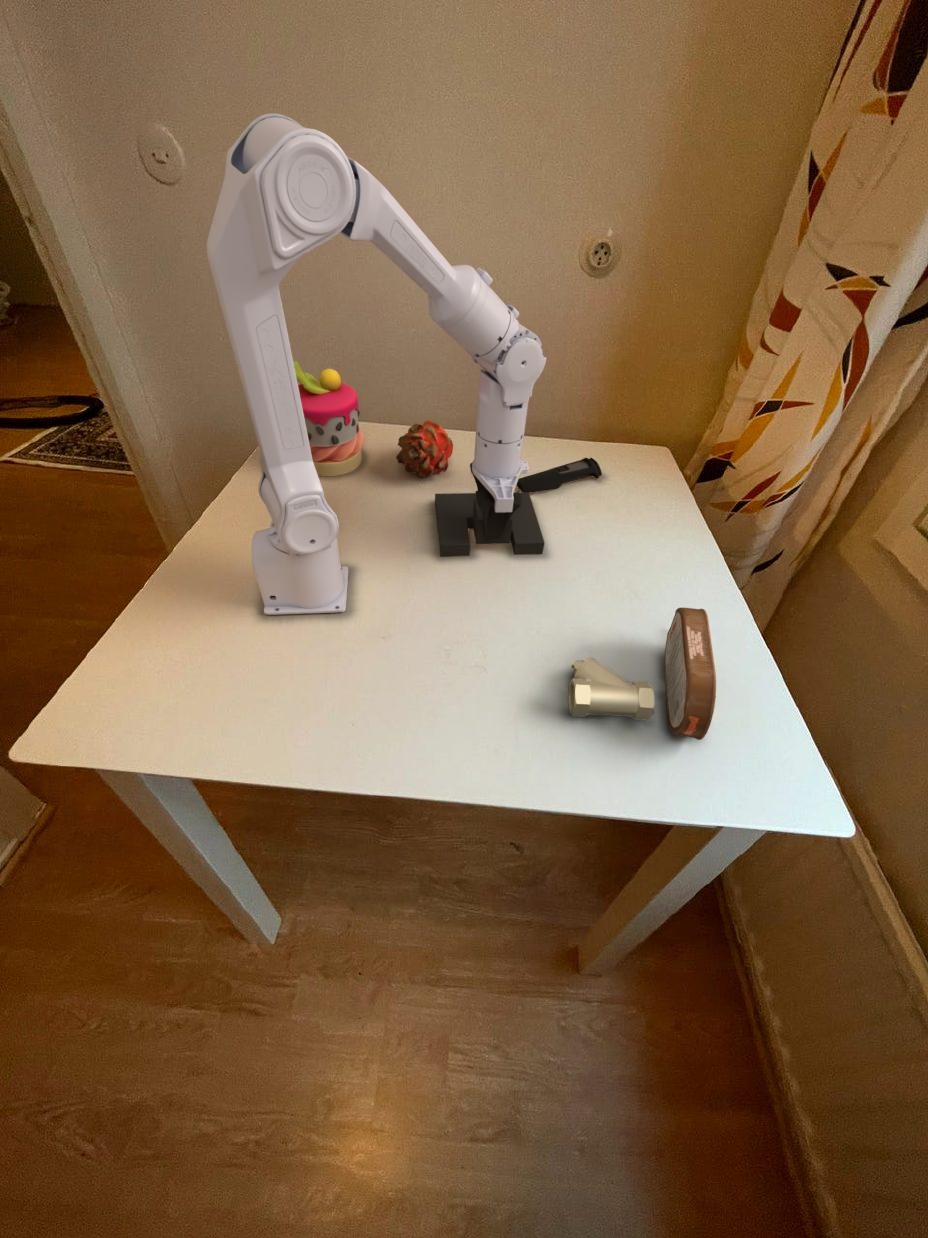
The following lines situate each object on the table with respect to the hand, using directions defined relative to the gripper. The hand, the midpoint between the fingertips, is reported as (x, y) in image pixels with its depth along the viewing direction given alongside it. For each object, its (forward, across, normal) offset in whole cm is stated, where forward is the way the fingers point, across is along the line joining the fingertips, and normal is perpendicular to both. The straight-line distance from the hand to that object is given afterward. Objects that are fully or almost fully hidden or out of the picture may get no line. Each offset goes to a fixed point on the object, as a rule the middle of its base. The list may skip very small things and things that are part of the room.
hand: (490, 525), depth 76 cm
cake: (+3, +22, +23) cm, 32 cm away
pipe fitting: (+3, -27, -9) cm, 29 cm away
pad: (+1, 0, 0) cm, 1 cm away
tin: (+3, -27, -17) cm, 32 cm away
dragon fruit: (+3, +19, +8) cm, 21 cm away
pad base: (+3, +3, 0) cm, 4 cm away
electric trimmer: (+3, +14, -13) cm, 19 cm away
